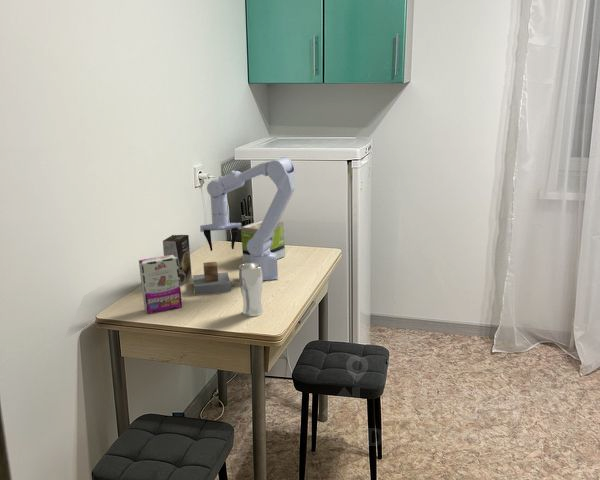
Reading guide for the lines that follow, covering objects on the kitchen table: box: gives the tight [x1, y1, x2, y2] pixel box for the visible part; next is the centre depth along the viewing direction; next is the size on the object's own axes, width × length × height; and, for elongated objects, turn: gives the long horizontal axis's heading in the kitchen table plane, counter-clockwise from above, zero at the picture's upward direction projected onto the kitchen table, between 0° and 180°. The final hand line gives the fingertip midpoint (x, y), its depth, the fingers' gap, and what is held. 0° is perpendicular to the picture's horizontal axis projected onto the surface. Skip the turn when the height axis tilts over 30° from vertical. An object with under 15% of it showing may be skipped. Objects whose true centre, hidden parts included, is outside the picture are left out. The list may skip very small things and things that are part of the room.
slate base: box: [192, 272, 231, 296], centre depth 202 cm, size 12×12×3 cm
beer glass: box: [238, 263, 264, 318], centre depth 177 cm, size 7×7×15 cm
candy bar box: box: [138, 255, 183, 315], centre depth 182 cm, size 11×5×16 cm, turn 117°
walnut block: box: [203, 261, 219, 282], centre depth 201 cm, size 4×4×6 cm
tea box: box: [240, 218, 286, 264], centre depth 231 cm, size 15×10×15 cm, turn 144°
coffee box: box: [162, 234, 193, 286], centre depth 208 cm, size 9×6×16 cm
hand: (222, 249), depth 214 cm, fingers open, 7 cm apart
